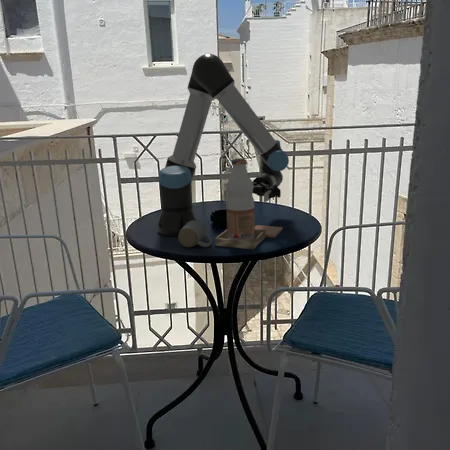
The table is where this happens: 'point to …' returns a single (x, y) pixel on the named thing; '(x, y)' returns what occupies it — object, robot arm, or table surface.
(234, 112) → the robot arm
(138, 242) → the table surface
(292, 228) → the table surface
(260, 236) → the birch collar
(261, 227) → the terracotta tile
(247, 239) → the fruit juice
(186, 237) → the ceramic mug
